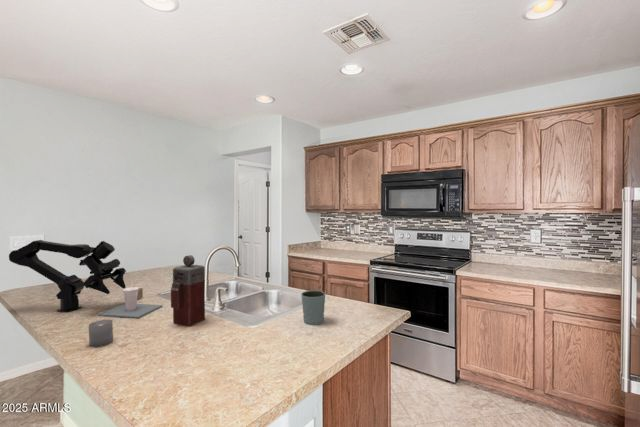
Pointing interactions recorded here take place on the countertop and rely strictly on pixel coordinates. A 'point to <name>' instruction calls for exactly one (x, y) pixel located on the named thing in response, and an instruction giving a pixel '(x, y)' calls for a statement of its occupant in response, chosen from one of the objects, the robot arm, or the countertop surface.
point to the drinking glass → (313, 307)
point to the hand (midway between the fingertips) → (117, 290)
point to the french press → (188, 293)
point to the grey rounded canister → (100, 333)
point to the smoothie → (131, 297)
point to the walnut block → (140, 293)
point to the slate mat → (123, 313)
